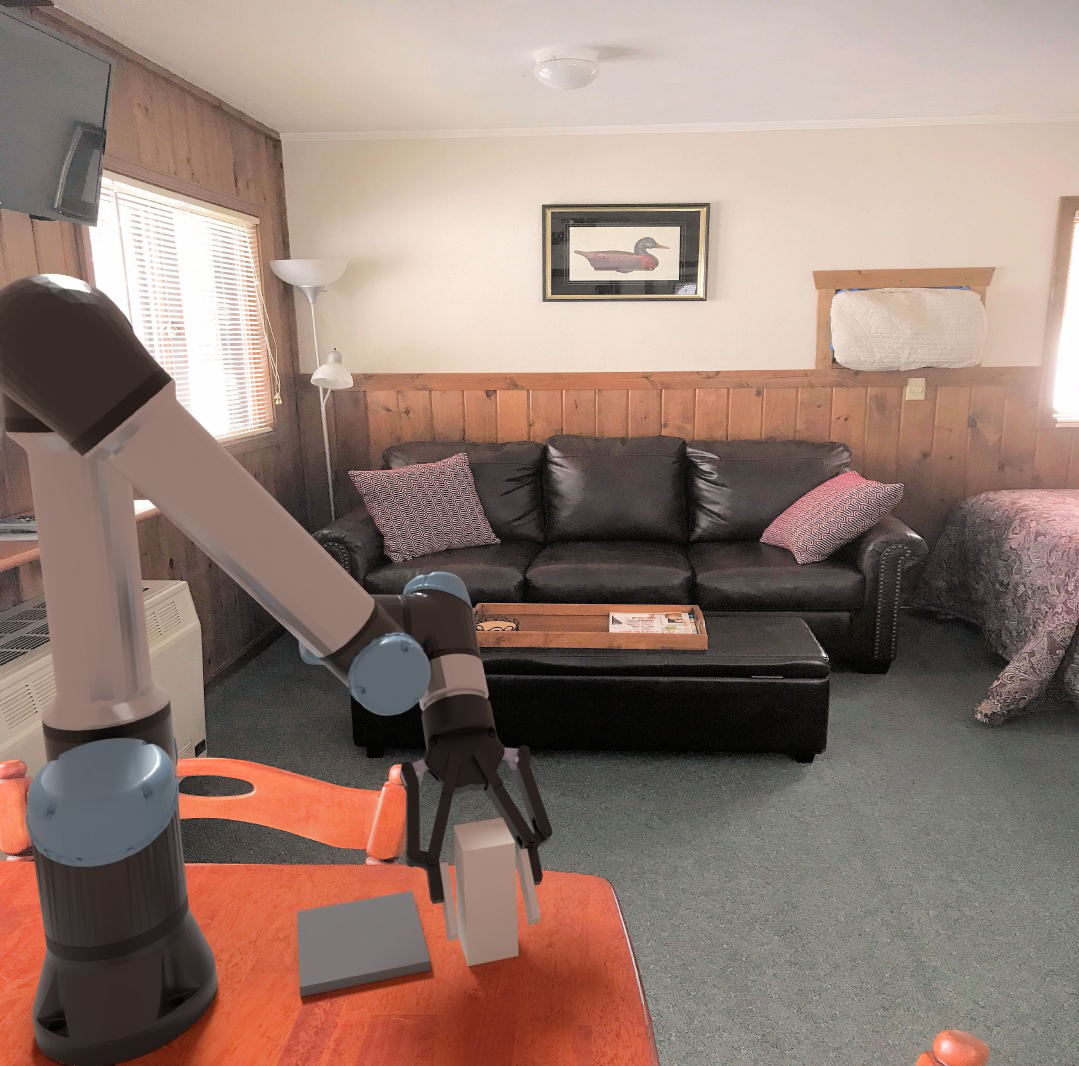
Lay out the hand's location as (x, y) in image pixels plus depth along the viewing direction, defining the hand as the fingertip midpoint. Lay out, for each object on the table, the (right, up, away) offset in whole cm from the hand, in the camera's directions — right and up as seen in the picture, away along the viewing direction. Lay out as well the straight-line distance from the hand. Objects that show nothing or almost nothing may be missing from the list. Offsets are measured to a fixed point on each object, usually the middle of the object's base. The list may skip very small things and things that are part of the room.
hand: (494, 929), depth 84 cm
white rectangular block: (-1, -3, +4) cm, 5 cm away
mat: (-14, -3, +5) cm, 15 cm away
